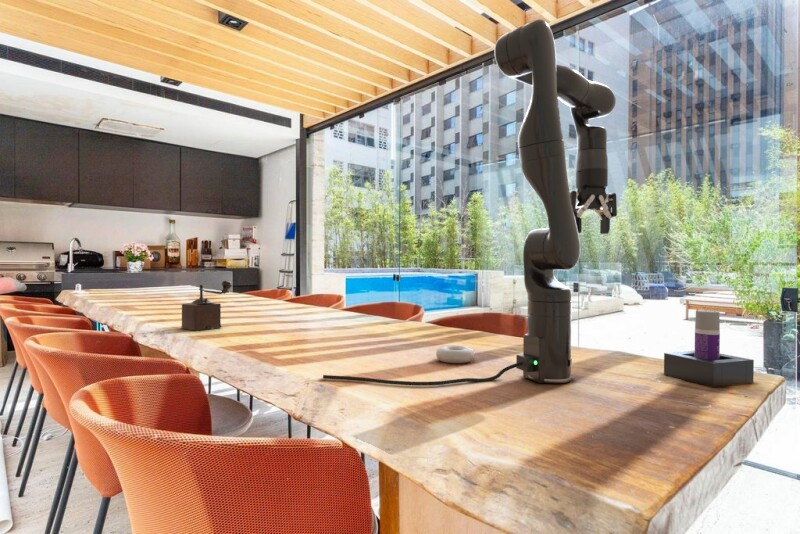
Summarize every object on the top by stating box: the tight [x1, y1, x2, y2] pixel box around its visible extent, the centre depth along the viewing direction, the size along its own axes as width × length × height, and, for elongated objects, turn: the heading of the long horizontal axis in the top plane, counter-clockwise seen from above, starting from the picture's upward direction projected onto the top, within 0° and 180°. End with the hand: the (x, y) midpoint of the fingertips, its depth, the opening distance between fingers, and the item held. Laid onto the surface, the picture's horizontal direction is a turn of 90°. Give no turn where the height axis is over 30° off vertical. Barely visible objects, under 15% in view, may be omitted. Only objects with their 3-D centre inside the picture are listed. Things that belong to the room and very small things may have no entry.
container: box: [694, 309, 721, 361], centre depth 107 cm, size 5×5×15 cm
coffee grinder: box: [181, 279, 233, 332], centre depth 182 cm, size 16×11×18 cm
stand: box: [663, 350, 755, 388], centre depth 107 cm, size 12×12×5 cm
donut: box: [435, 345, 475, 364], centre depth 124 cm, size 10×4×10 cm
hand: (590, 233), depth 121 cm, fingers open, 8 cm apart
